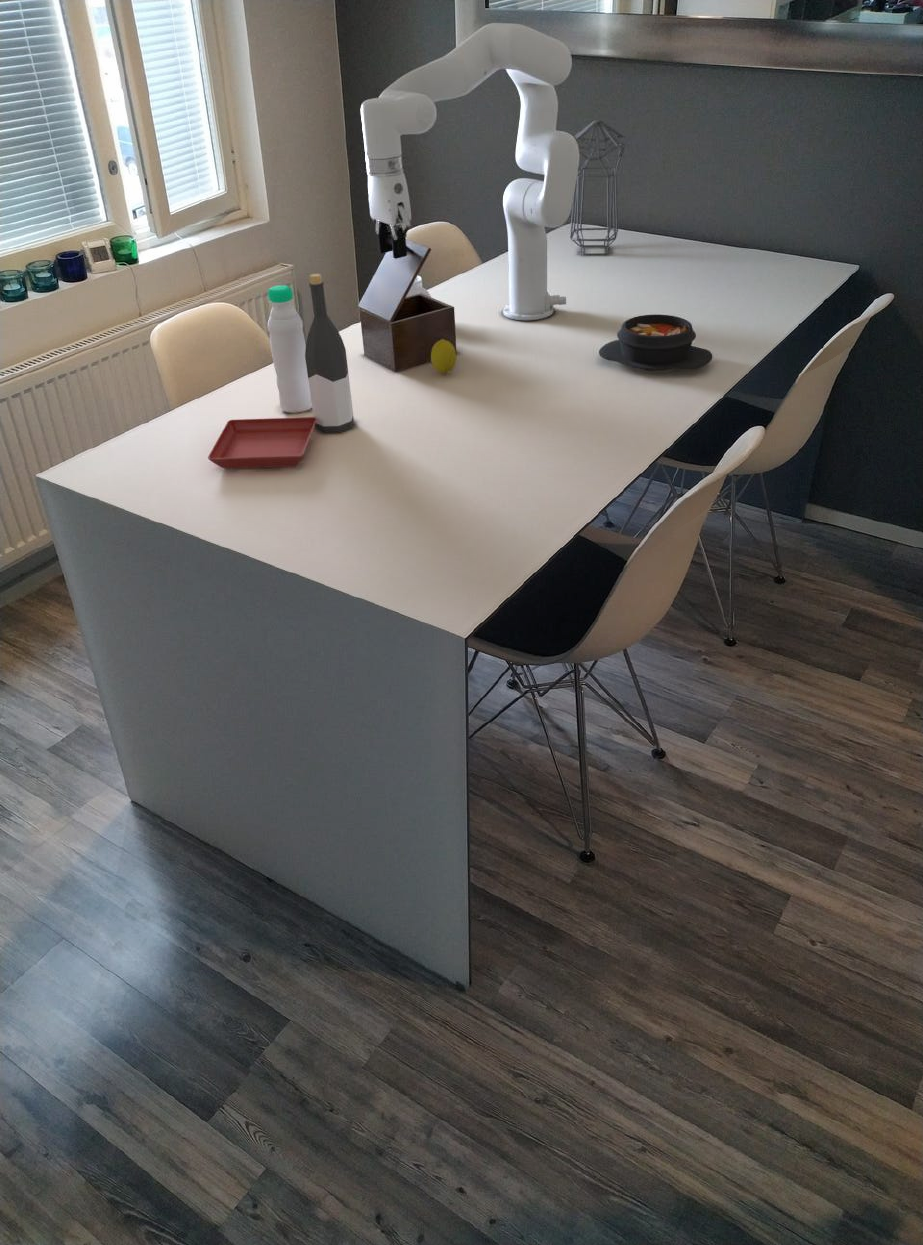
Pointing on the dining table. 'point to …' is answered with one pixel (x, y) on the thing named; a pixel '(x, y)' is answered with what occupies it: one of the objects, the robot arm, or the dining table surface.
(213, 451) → the plant saucer
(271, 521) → the dining table surface
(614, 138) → the geometric lantern
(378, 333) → the chest
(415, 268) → the lid
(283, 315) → the water bottle
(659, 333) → the casserole
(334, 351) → the wine bottle
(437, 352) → the lemon
